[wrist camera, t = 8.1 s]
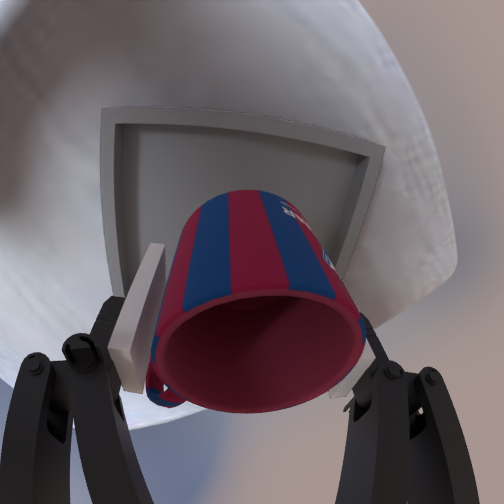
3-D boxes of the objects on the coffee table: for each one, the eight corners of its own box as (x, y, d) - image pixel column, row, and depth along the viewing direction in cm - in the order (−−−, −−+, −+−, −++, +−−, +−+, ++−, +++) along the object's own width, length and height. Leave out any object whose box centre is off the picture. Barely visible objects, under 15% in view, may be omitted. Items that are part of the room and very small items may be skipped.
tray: (115, 106, 14) (101, 108, 13) (370, 141, 17) (385, 146, 15) (132, 338, 25) (127, 354, 24) (299, 349, 28) (303, 365, 26)
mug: (332, 263, 14) (385, 363, 8) (192, 342, 17) (186, 439, 11) (265, 159, 11) (309, 229, 5) (112, 275, 13) (67, 376, 8)
